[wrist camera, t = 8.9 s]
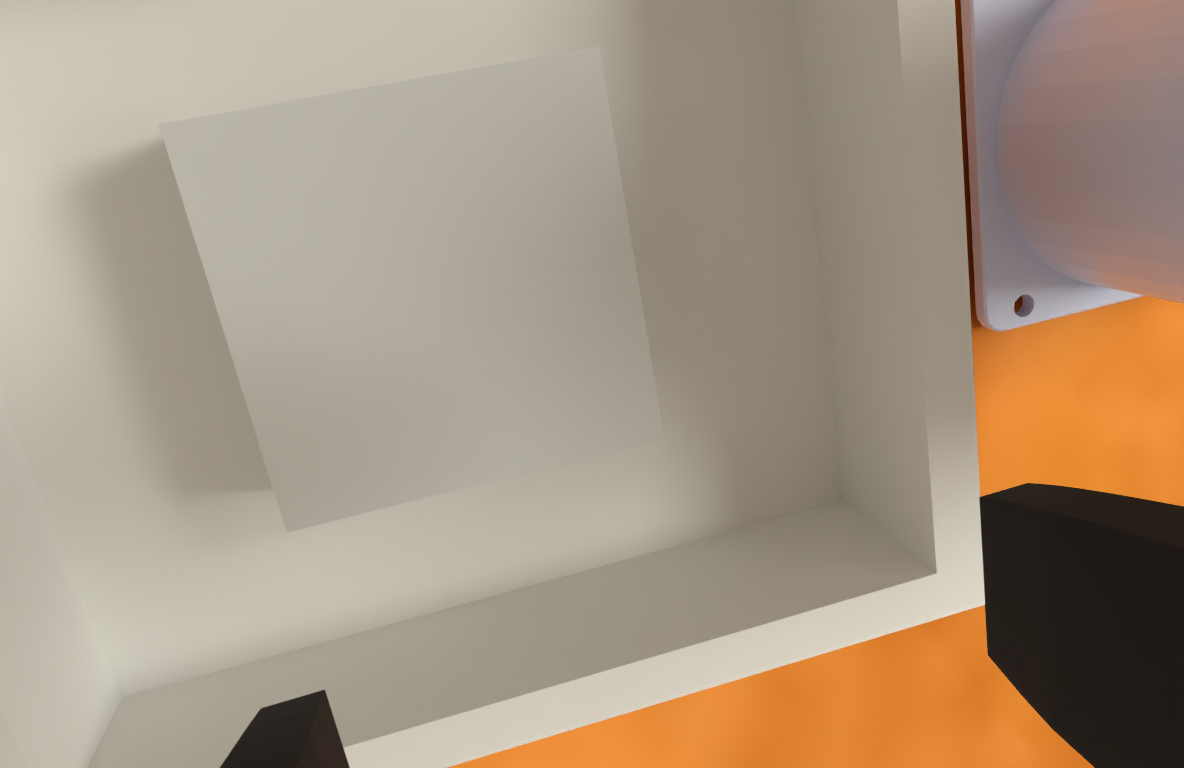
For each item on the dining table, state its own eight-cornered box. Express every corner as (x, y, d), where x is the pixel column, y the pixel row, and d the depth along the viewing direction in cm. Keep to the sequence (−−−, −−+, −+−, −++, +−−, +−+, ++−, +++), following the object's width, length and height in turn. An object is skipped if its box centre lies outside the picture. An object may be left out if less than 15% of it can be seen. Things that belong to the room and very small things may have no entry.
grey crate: (799, -235, 17) (936, -361, 13) (869, 513, 22) (985, 604, 17) (-245, -99, 14) (-518, -202, 10) (99, 727, 19) (14, 898, 15)
